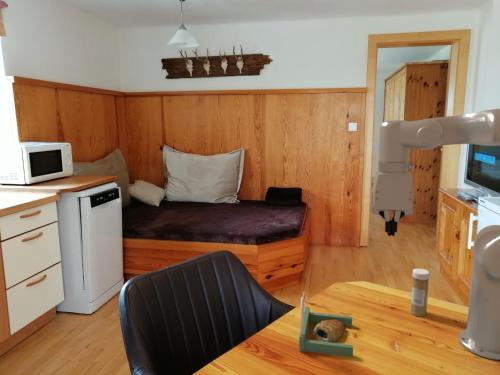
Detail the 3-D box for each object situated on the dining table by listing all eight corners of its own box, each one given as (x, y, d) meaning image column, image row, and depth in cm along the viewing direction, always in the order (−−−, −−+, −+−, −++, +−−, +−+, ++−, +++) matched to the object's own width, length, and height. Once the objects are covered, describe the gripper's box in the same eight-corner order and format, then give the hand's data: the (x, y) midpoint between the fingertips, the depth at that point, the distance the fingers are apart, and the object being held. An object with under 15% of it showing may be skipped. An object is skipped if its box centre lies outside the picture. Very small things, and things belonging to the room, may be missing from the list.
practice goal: (351, 324, 111) (353, 278, 108) (352, 357, 96) (354, 305, 93) (305, 319, 114) (305, 274, 112) (299, 351, 99) (299, 300, 96)
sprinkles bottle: (429, 314, 116) (433, 271, 113) (420, 318, 113) (423, 275, 111) (415, 308, 120) (418, 266, 117) (406, 312, 117) (409, 270, 115)
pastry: (329, 323, 112) (329, 310, 112) (350, 331, 108) (351, 319, 107) (310, 336, 106) (310, 323, 105) (332, 346, 101) (332, 333, 100)
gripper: (420, 166, 104) (417, 231, 108) (362, 165, 108) (361, 229, 111) (427, 169, 97) (423, 240, 101) (365, 169, 100) (363, 237, 104)
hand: (390, 234), depth 106 cm, fingers closed
